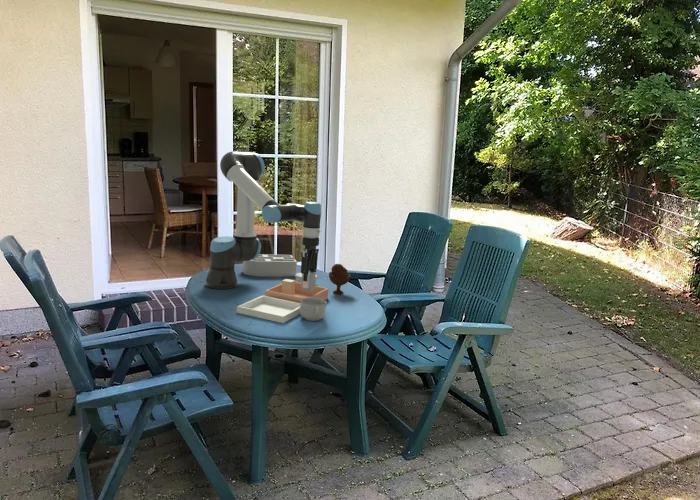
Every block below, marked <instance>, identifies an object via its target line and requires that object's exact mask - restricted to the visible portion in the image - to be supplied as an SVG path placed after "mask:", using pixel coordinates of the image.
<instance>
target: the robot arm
mask: <svg viewBox="0 0 700 500" xmlns="http://www.w3.org/2000/svg"><path fill="white" fill-rule="evenodd" d="M219 167H220V171H221V174H222V175H223V176H224V178H225V179H226V180H228V182H230V183H234V185H236V187H237V199H236V201H237V203H236V204H237V205H236V227H235V228H236V229H235V231H234V233H233V234H232V236H229V235H228V236H217V237H214V238H213V239H212V240H211V241H210V248H209V250H210V251H209V252H210V253H209V270H208V274H207V276H206V279H205V286H206V287H208V288H209V289H214V290H215V289H216V290H230V289H234V288H237V286H238V278H237V275H236V272H235V263H243V261H250V260H253V259H255V258H257V257H258V255H259V254H261V251H262V243H261V242H260V239H259V238H258V236H257V233H256V232H255V212H256V211H255V206H256V207H257V208H258V209H259V210H260V212H261V216H262V219H263V221H264V222H265V223H270V224H276V223H282V222H295V221H296V222H301V223H302V224H303V227H302V241H301V243H302V245H303V246H304V251H301V252H300V256H301V261H300V264H301V265H300V273H301V274H303V288H309V272H315V273H316V272H317V268H318V258H319V250H320V249H319V248H317V247H319V245H320V233H321V218H322V205H321V203H320V202H316V201H305V203H304V205H303V204H298V203H294V202H292V203H291V202H288V203H286V204H279V203H278V202H277V201H276V200H275V199H274V198H273V197H272V196H271V195H270V194H269V193H268V192H267V191H266V190H265V189H264V188H263V187H262V186H261V185H260V184H259V183H258V182H259V181H260V177H261V176H262V175H263V173H264V172H265V161H264V159H263V158H262V157H261V155H260V154H259V153H256V152H252V151H229V152H226V153H225V154H224V155H223V156H222V157H221V159H220V162H219Z"/></svg>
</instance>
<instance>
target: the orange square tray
mask: <svg viewBox="0 0 700 500" xmlns="http://www.w3.org/2000/svg"><path fill="white" fill-rule="evenodd" d="M301 286H302V283H298V282H296V281H295V294H294V296H293V295H288V294H283V293H281V290H282V283H280V284H278V285H275V286H272V287H271V288H268V289H266V290H265V291H264V296H268V297H273V298H277V299H282V300H287V301H292V302H297V303H301V299H302V298H318V299H322V300H324V301H326V300H329V299H328V298H329V291H330V290H329V288H330V287H329V288H328V287H324V286H323V287H322V286H318V285H315V289H314V290H312V291H306V290H301Z"/></svg>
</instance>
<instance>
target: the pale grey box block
mask: <svg viewBox="0 0 700 500" xmlns="http://www.w3.org/2000/svg"><path fill="white" fill-rule="evenodd" d="M315 275H317V273H316V272H310V271H309V288H303V274H302V286H301V290H306V291H312V290H314V289H315V286H316V283H315Z"/></svg>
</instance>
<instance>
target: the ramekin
mask: <svg viewBox="0 0 700 500" xmlns="http://www.w3.org/2000/svg"><path fill="white" fill-rule="evenodd" d="M317 280H318V275H317V274H316V275H315V284H316V283H317ZM295 282H298V283H302V274H301V272H296V274H295Z"/></svg>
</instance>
